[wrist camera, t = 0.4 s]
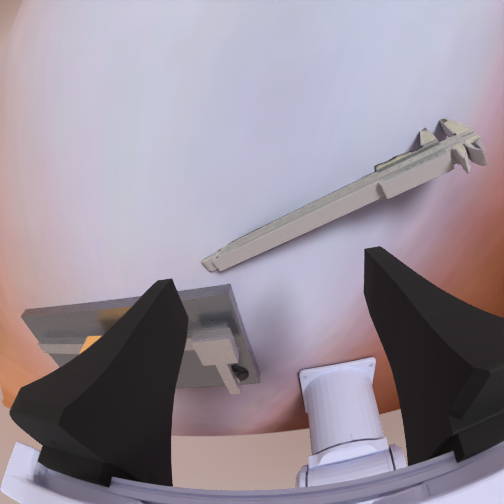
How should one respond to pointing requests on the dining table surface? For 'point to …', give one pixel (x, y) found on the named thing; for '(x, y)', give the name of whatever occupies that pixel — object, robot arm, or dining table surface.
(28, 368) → the dining table surface
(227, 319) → the board
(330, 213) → the caliper
